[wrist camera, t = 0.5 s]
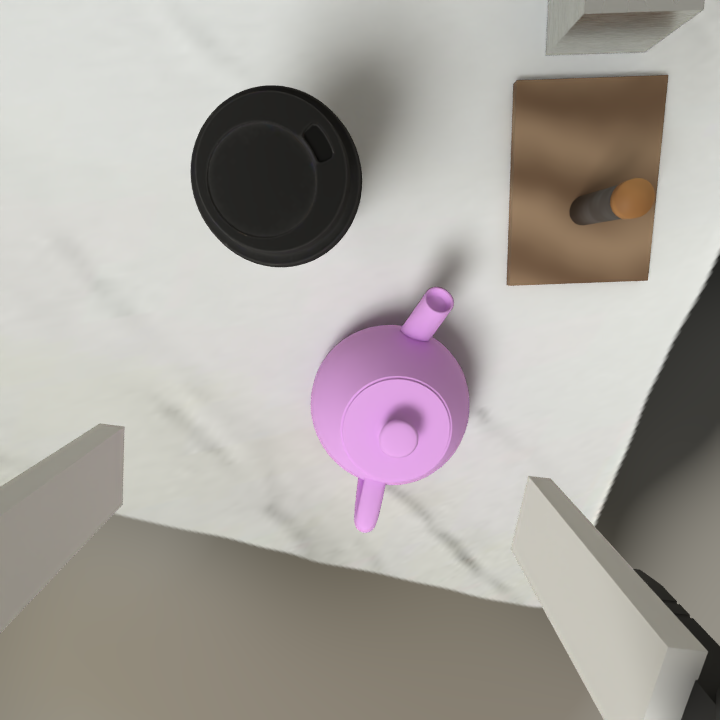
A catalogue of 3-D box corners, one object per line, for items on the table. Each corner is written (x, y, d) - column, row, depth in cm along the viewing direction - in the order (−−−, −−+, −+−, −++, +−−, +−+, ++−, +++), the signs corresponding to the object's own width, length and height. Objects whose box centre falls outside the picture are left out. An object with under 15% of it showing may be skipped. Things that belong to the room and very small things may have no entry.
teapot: (497, 305, 40) (548, 320, 29) (426, 500, 44) (449, 575, 33) (348, 259, 38) (347, 258, 28) (290, 464, 42) (270, 529, 32)
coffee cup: (379, 189, 37) (397, 140, 23) (324, 286, 39) (306, 300, 24) (281, 126, 36) (231, 31, 21) (228, 229, 38) (148, 207, 23)
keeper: (513, 84, 36) (556, 35, 28) (661, 79, 36) (744, 28, 28) (506, 285, 39) (543, 290, 31) (641, 280, 39) (711, 283, 32)
